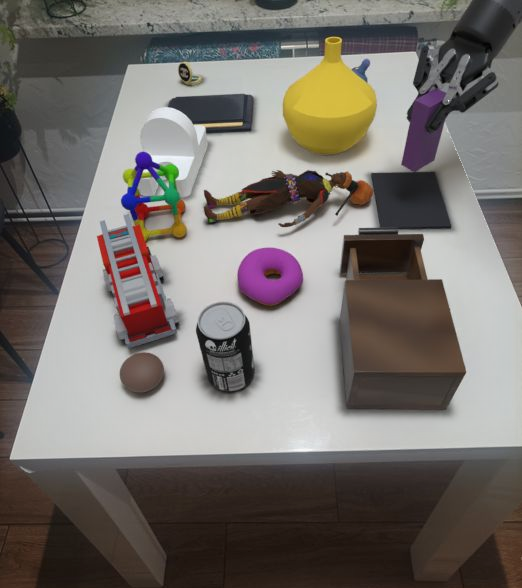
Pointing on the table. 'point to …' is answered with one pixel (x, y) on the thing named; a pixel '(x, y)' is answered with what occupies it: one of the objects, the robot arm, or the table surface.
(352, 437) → the table surface
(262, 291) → the donut
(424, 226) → the mat
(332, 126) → the vase
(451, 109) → the robot arm
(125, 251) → the toy fire truck
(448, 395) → the cabinet
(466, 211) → the table surface
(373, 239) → the drawer
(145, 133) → the bracket
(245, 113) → the wallet
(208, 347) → the beverage can
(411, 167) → the purple rectangular block
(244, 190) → the figurine
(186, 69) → the eyeshadow
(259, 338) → the table surface
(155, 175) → the model
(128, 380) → the egg
